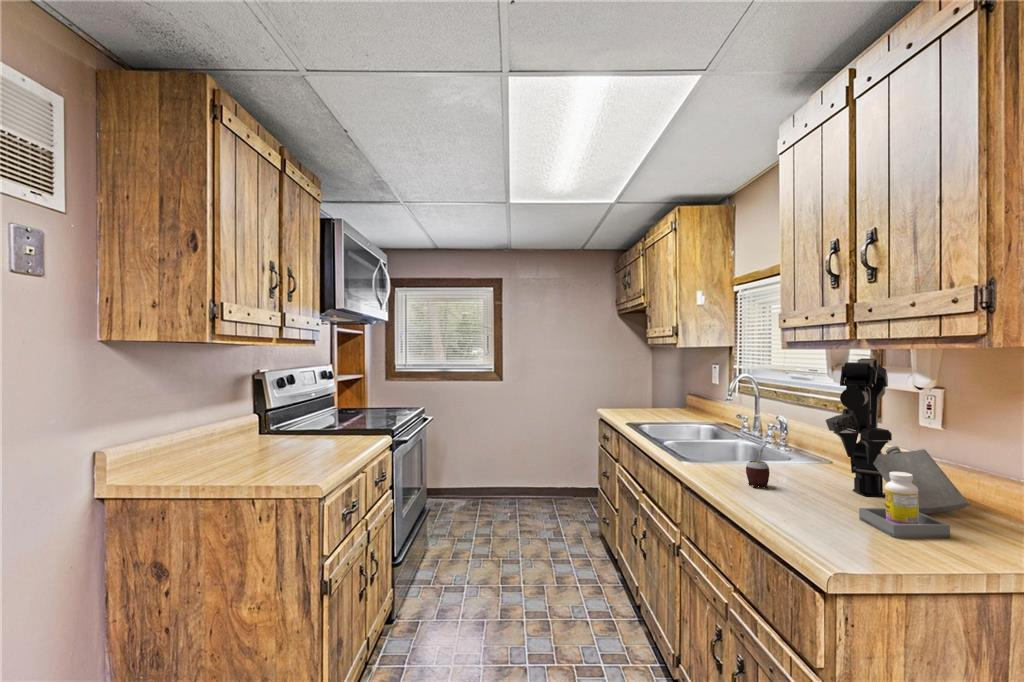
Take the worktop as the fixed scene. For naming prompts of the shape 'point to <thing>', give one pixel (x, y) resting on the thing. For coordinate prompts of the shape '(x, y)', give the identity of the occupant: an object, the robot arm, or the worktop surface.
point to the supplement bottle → (901, 499)
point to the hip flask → (922, 479)
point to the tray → (905, 525)
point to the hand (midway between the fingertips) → (859, 460)
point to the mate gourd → (758, 472)
